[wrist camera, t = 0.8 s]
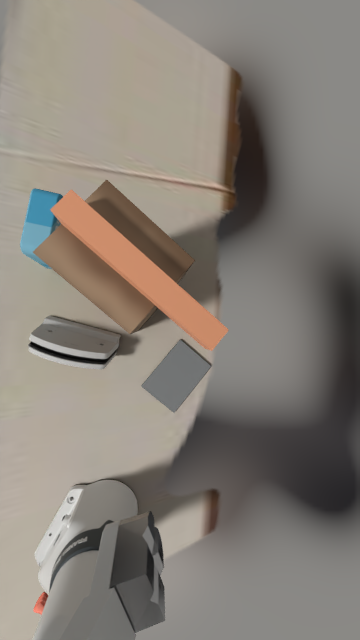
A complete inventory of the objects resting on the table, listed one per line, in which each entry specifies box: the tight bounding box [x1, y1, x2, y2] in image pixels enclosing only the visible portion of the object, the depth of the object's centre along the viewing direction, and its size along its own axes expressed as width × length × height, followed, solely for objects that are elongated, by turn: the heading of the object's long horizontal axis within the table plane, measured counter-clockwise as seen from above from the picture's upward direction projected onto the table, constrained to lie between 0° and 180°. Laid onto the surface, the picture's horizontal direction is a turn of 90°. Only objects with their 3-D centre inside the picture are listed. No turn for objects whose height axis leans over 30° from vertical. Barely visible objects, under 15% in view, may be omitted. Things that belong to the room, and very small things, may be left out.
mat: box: [142, 340, 211, 412], centre depth 52 cm, size 14×10×1 cm
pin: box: [50, 190, 228, 351], centre depth 24 cm, size 3×22×3 cm, turn 50°
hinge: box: [28, 316, 121, 369], centre depth 45 cm, size 17×5×10 cm, turn 74°
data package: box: [20, 189, 63, 269], centre depth 43 cm, size 12×4×12 cm, turn 171°
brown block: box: [33, 180, 195, 334], centre depth 38 cm, size 12×14×26 cm
